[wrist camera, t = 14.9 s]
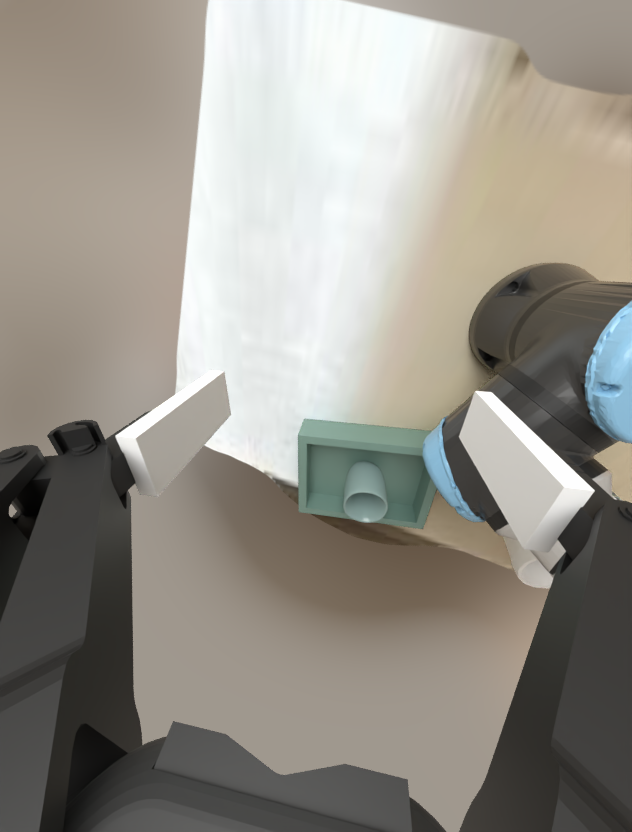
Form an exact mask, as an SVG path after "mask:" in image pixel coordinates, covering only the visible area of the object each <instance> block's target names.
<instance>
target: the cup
mask: <svg viewBox="0 0 632 832" xmlns="http://www.w3.org/2000/svg"><path fill="white" fill-rule="evenodd" d="M343 508H344V511H345V513H346V514H347V515H348V516H349V517H350V518H352V519H354V520H356V521H359V522H365V523H372V522H376V521H379V520H380V519H382V518H383V517H384V516H385V514H386V513H387V510H388V499H387V490H386V484H385V479H384V476H383V473H382V471H381V469H380V468H379V467H378V466H377V465H376V464H374V463H372V462H368V461H359V462H356V463H354V464H353V465H352V466H351V467H350V469H349V470H348V473H347V476H346V480H345V485H344V496H343Z"/></svg>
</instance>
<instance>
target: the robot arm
mask: <svg viewBox="0 0 632 832" xmlns="http://www.w3.org/2000/svg"><path fill="white" fill-rule="evenodd" d="M469 340H470V345H471V348H472V351H473V353H474V355H475V356H476V357H477V359H478V360H479V361H480V362H481V363H483V364H484V365H485V366H486V367H488V368H489V369H491V370H492V371H494V372H497V373H498V374H496V375H495V376H494V377H493V378H492V379H491V380H489V381H488V382H487V383H486V384H485V385H484V386H483V387H481V388H480V389H479V390H478V391H475V393H474V394H473V395H472V396H471V397H470V398H469V399H468V400H466V401H465V402H464V403H463V404H462V405H460V406H459V407H458V408H457V409H456V410H455V411H453V412H452V413H451V414H450V415H449V416H446V417H444V418H443V419H442V420H441V422H440V424H439V425H438V426H437V427H436V428H435V429H434V430H433V431H432V432H431V433H430V434H429V435H428V436H427V437H426V438H425V440H424V442H423V459H424V463H425V466H426V469H427V471H428V473H429V475H430V477H431V479H432V481H433V483H434V485H435V486H436V488H437V489H438V491H439V492H440V494H441V495H442V496H443V498H444V499H445V500H446V501H447V503H448V504H449V505H450V506H452V507H455V509H456V511H457V513H458V514H460V515H461V516H462V517H464V518H465V519H467V520H469V521H472V522H484V521H487V523H488V524H489V525H490V526H491V528H492V529H493V530H494V531H495V532H496V533H497V534H498V535H500V536H504V537H507V538H511V539H514V540H518V541H519V542H520V544H521V546H522V548H523V549H528V550H530V551H531V552H532V554H533V555H534V556H535V557H536V558H537V559H538V561H539V562H540V563H541V564H542V565H543V567H544V568H545V569H546V570H547V571H548V572H549V574H550V575H551V576H552V577H553V581H552V584H551V587H550V590H549V593H548V596H547V599H546V602H545V605H544V608H543V611H542V614H541V617H540V619H539V623H538V625H537V628H536V631H535V634H534V637H533V640H532V643H531V646H530V649H529V652H528V655H527V658H526V661H525V664H524V667H523V670H522V673H521V676H520V679H519V682H518V685H517V688H516V690H515V693H514V697H513V700H512V702H511V706H510V708H509V711H508V714H507V717H506V720H505V723H504V726H503V729H502V732H501V735H500V738H499V741H498V744H497V747H496V750H495V753H494V755H493V759H492V761H491V764H490V767H489V770H488V773H487V776H486V778H485V781H484V783H483V785H482V787H481V789H480V790H479V792H478V794H477V796H476V797H475V798H474V800H473V801H472V803H471V805H470V808H469V809H468V811H467V813H466V816H465V818H464V821H463V824H462V826H461V828H460V831H459V832H632V503H630V502H627V501H622V500H616V499H614V497H613V496H612V473H611V472H610V471H609V470H607V469H606V468H605V467H604V466H603V465H601V464H600V463H599V462H598V461H596V460H595V459H594V457H593V456H594V455H596V454H597V452H598V453H599V452H601V451H602V450H604V449H606V448H608V447H609V446H611V445H613V444H614V443H616V442H618V441H622V442H625V443H631V444H632V283H626V282H604V281H599V280H598V279H596V278H595V277H594V276H592V275H591V274H590V273H588V272H587V271H585V270H584V269H582V268H580V267H577V266H574V265H570V264H565V263H542V264H535V265H531V266H528V267H525V268H522V269H520V270H517V271H515V272H513V273H511V274H510V275H508V276H506V277H505V278H503V279H502V280H501V281H499V282H498V283H497V284H496V285H495V286H494V287H492V288H491V289H490V290H489V292H488V293H487V294H486V295H485V296H484V297H483V299H482V300H481V302H480V303H479V305H478V306H477V308H476V310H475V312H474V315H473V317H472V320H471V324H470V330H469ZM230 415H231V412H230V405H229V399H228V393H227V386H226V380H225V373H224V371H213V370H211V371H209V372H208V373H207V374H205V375H204V376H202V377H201V378H199V379H198V380H196V381H195V382H193V383H192V384H190V385H189V386H188V387H186V388H185V389H183V390H182V391H180V392H179V393H177V394H176V395H174V396H173V397H171V398H170V399H168V400H167V401H166V402H164V403H163V404H161V405H160V406H158V407H157V408H155V409H153V410H151V411H149V412H146V413H144V414H143V415H141V416H140V417H138V418H137V419H136V420H134V421H132V422H131V423H129V425H126V426H125V427H123V428H122V429H121V430H119V431H117V432H116V433H115V434H113V435H111V436H110V437H109V438H107V439H106V440H105V439H104V437H103V434H102V432H101V430H100V428H99V426H98V423H97V422H96V421H93V420H81V421H75V422H72V423H68V424H65V425H62V426H60V427H57V428H56V429H54V430H52V431H51V432H50V433H49V434H48V438H49V439H50V441H51V443H52V445H53V446H54V448H55V450H56V452H57V453H58V455H57V456H45V457H44V456H43V455H42V453H41V451H40V450H39V448H38V447H37V446H34V445H24V446H19V447H12V448H10V449H6V450H3V451H2V452H0V832H446V831H445V830H444V828H443V827H442V826H441V825H440V824H439V823H438V822H437V821H436V819H435V818H434V817H433V816H432V815H430V814H429V813H428V812H427V811H426V810H425V809H424V808H423V807H422V806H421V805H420V804H419V803H417V802H416V801H415V800H413V799H412V798H410V797H409V791H408V780H407V779H403V778H399V777H395V776H391V775H387V774H383V773H379V772H375V771H371V770H367V769H363V768H359V767H355V766H351V765H347V764H343V765H338V766H332V767H327V768H321V769H316V770H311V771H305V772H300V773H294V774H289V775H280V774H277V773H275V772H274V771H272V770H271V769H270V768H269V767H267V766H266V765H264V764H263V763H262V762H261V761H259V760H258V759H257V758H256V757H254V756H253V755H252V754H251V753H249V752H248V751H247V750H245V749H244V748H243V747H242V746H240V745H239V744H238V743H236V742H235V741H234V740H232V739H231V738H230V737H229V736H228V735H226V734H222V733H219V732H215V731H210V730H207V729H203V728H198V727H194V726H190V725H186V724H182V723H178V722H174V721H173V723H172V725H171V728H170V730H169V733H168V735H167V737H162V738H160V739H157V740H154V741H151V742H148V743H146V744H144V745H142V733H141V726H140V720H139V716H138V712H137V709H136V705H135V700H134V691H133V625H132V549H131V497H130V494H129V492H128V489H129V488H130V487H131V486H132V485H134V484H136V486H137V488H138V491H139V493H140V495H148V496H154V497H158V496H159V495H160V494H161V493H162V492H163V491H164V490H165V488H166V487H167V486H168V485H169V484H170V483H171V482H172V481H173V479H174V478H175V477H176V476H177V475H178V474H179V473H180V471H181V470H182V469H183V468H184V467H185V466H186V465H187V464H188V463H189V461H190V460H191V459H192V458H193V457H194V456H195V455H196V454H197V452H198V451H199V450H200V449H201V448H202V447H203V446H204V445H205V443H206V442H207V441H208V440H209V439H210V438H211V437H212V435H213V434H214V433H215V432H216V431H217V430H218V429H219V428H220V426H221V425H222V424H223V423H224V422H225V421H226V420H227V419H228V417H229V416H230ZM592 448H593V449H592ZM596 451H597V452H596ZM10 504H12V505H13V506H14V508H15V509H16V510H17V512H16V513H15V515H14V516H13V517H12V518H11V517H10V516H9V506H10Z"/></svg>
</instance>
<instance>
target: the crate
mask: <svg viewBox="0 0 632 832" xmlns="http://www.w3.org/2000/svg"><path fill="white" fill-rule="evenodd" d="M431 432H432V431H425V430H415V429H405V428H394V427H384V426H374V425H364V424H353V423H343V422H333V421H322V420H312V419H304V421H303V423H302V426H301V429H300V431H299V434H298V478H299V512H303V513H310V514H317V515H325V516H332V517H339V518H346V519H352V518H350V517H349V516H348V515H347V514H346V513H345V511H344V508H343V496H344V485H345V480H346V476H347V473H348V470H349V469H350V467H351V466H352V465H353V464H354V463H356V462H359V461H368V462H372V463H374V464H376V465H377V466H378V467H379V468H380V469H381V471H382V473H383V476H384V479H385V484H386V490H387V499H388V510H387V513H386V514H385V516H384V517H383V518H382V519H380V520H379V521H376V522H375V523H382V524H389V525H396V526H403V527H411V528H418V529H423V527H424V525H425V522H426V519H427V516H428V513H429V510H430V507H431V504H432V501H433V498H434V495H435V493H436V490H437V488H436V486H435V485H434V483H433V481H432V479H431V477H430V475H429V473H428V471H427V469H426V466H425V463H424V459H423V442H424V440H425V438H426V437H427V436H428V435H429V434H430V433H431ZM353 520H354V519H353Z"/></svg>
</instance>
